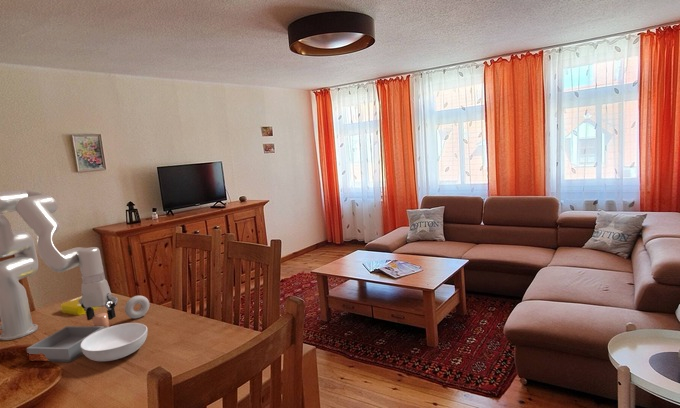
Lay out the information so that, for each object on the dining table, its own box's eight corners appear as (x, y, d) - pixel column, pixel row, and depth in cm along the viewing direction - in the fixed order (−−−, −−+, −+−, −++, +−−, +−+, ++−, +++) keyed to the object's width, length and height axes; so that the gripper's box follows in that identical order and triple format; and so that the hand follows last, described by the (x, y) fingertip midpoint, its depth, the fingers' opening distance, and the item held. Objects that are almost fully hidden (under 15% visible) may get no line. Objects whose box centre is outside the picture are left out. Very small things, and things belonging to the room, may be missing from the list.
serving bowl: (103, 376, 126) (99, 356, 125) (72, 361, 137) (68, 342, 136) (161, 346, 143) (159, 328, 142) (129, 335, 154) (127, 318, 153)
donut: (128, 323, 166) (124, 300, 164) (125, 320, 168) (121, 298, 167) (152, 314, 173) (149, 293, 171) (149, 312, 175) (146, 291, 174)
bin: (29, 361, 139) (26, 348, 138) (69, 338, 155) (66, 326, 154) (70, 362, 136) (67, 348, 135) (106, 338, 152) (104, 326, 152)
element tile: (90, 300, 197) (89, 291, 197) (110, 303, 191) (109, 294, 191) (60, 313, 184) (58, 303, 183) (80, 316, 178) (78, 306, 177)
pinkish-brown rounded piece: (92, 334, 157) (89, 318, 156) (101, 328, 162) (99, 312, 161) (103, 334, 156) (100, 318, 155) (112, 328, 161) (110, 312, 160)
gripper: (67, 282, 153) (75, 323, 156) (105, 280, 150) (113, 322, 153) (82, 276, 161) (90, 315, 163) (119, 274, 158) (127, 314, 160)
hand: (101, 318), depth 158 cm, fingers open, 9 cm apart
